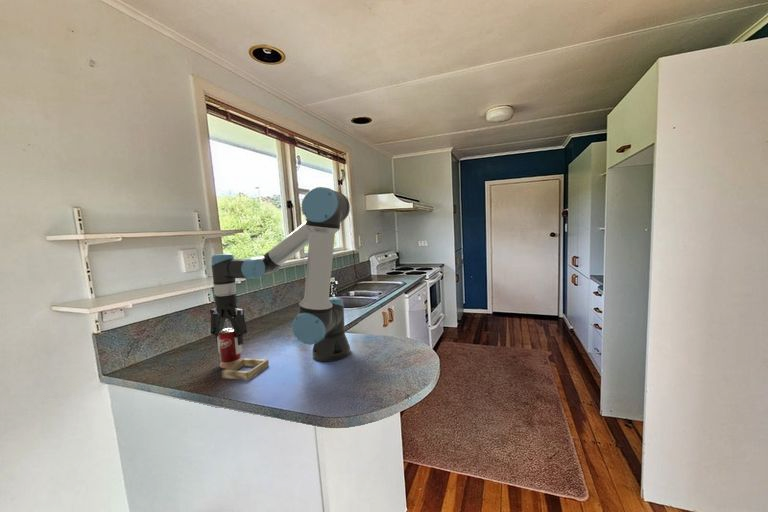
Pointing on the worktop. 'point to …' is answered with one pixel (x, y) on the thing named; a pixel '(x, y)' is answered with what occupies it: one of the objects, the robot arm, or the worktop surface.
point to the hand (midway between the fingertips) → (230, 352)
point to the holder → (245, 375)
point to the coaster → (227, 364)
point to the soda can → (227, 346)
